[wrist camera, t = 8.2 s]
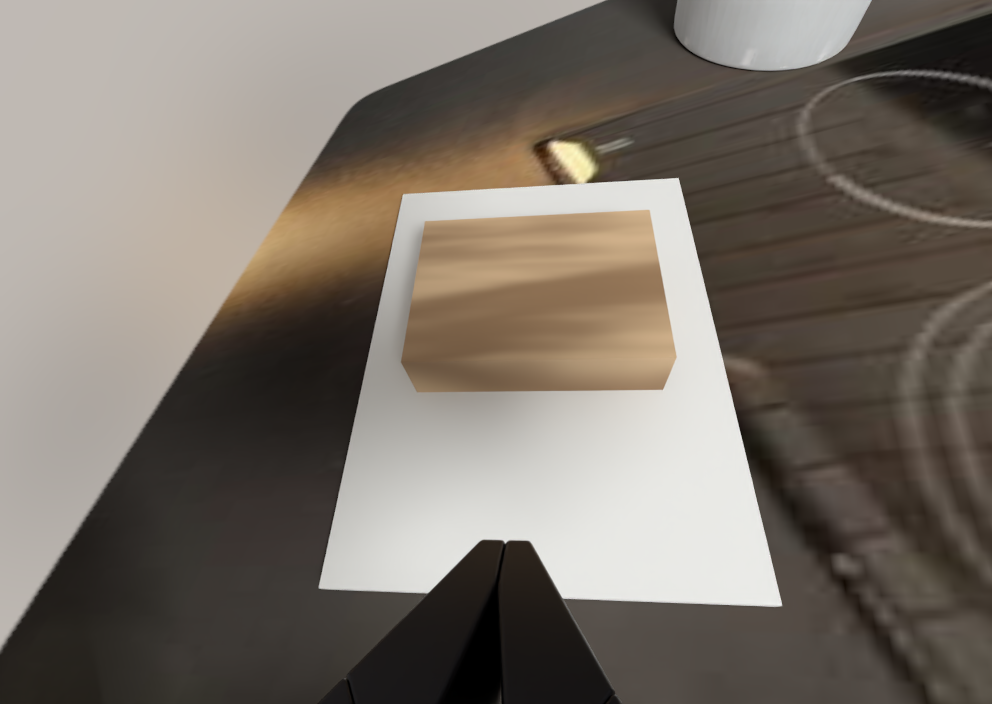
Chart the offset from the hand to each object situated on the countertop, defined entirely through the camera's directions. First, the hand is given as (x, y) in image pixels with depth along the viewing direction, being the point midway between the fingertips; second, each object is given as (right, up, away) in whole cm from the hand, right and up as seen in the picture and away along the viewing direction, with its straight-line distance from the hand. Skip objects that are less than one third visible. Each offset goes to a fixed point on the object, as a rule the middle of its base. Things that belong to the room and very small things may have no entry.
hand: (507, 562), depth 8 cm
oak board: (+2, +2, +14) cm, 14 cm away
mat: (+2, +4, +17) cm, 18 cm away
